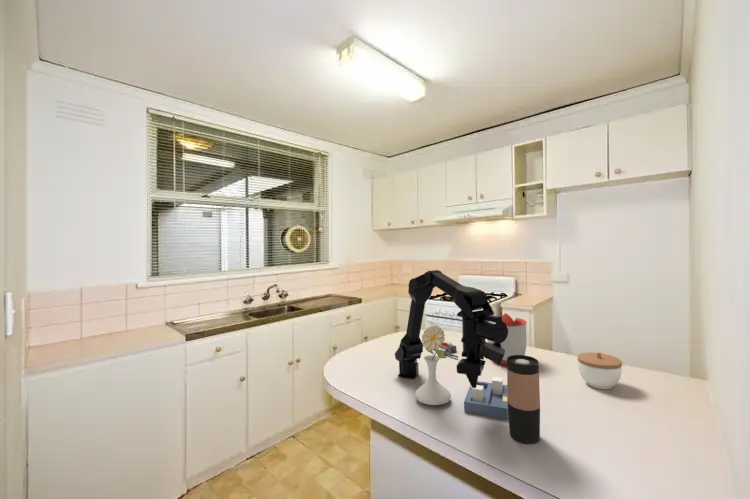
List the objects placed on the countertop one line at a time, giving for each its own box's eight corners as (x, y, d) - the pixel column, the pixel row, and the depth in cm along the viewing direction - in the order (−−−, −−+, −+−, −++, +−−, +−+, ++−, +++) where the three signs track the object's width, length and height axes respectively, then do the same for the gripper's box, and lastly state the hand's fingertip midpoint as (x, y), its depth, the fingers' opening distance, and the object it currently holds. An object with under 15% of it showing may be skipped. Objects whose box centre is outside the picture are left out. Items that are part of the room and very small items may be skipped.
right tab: (492, 394, 106) (492, 380, 106) (493, 390, 109) (492, 376, 109) (502, 395, 105) (502, 381, 105) (503, 391, 108) (502, 378, 108)
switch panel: (464, 411, 99) (463, 400, 99) (472, 389, 114) (472, 379, 114) (507, 419, 94) (507, 408, 94) (510, 394, 109) (509, 385, 109)
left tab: (472, 402, 101) (472, 388, 101) (473, 398, 104) (473, 384, 104) (482, 404, 100) (482, 390, 100) (484, 399, 103) (483, 385, 102)
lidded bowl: (574, 386, 113) (573, 354, 113) (582, 374, 122) (581, 344, 122) (619, 397, 105) (619, 362, 104) (624, 383, 114) (624, 351, 114)
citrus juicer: (530, 356, 142) (529, 310, 141) (524, 371, 127) (523, 319, 127) (493, 351, 150) (491, 307, 150) (483, 364, 136) (481, 315, 135)
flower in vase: (408, 396, 110) (406, 321, 109) (437, 389, 114) (435, 317, 114) (430, 415, 98) (427, 331, 97) (461, 406, 102) (459, 325, 102)
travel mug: (503, 429, 89) (501, 355, 89) (530, 426, 90) (528, 353, 90) (517, 446, 82) (515, 366, 81) (547, 443, 82) (545, 364, 82)
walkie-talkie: (424, 349, 158) (456, 361, 141) (424, 340, 158) (455, 350, 141) (438, 345, 163) (470, 356, 146) (437, 336, 163) (469, 346, 146)
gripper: (500, 346, 84) (501, 407, 84) (504, 327, 100) (506, 378, 101) (455, 342, 88) (457, 400, 89) (467, 325, 105) (468, 373, 106)
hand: (474, 387), depth 96 cm, fingers closed
